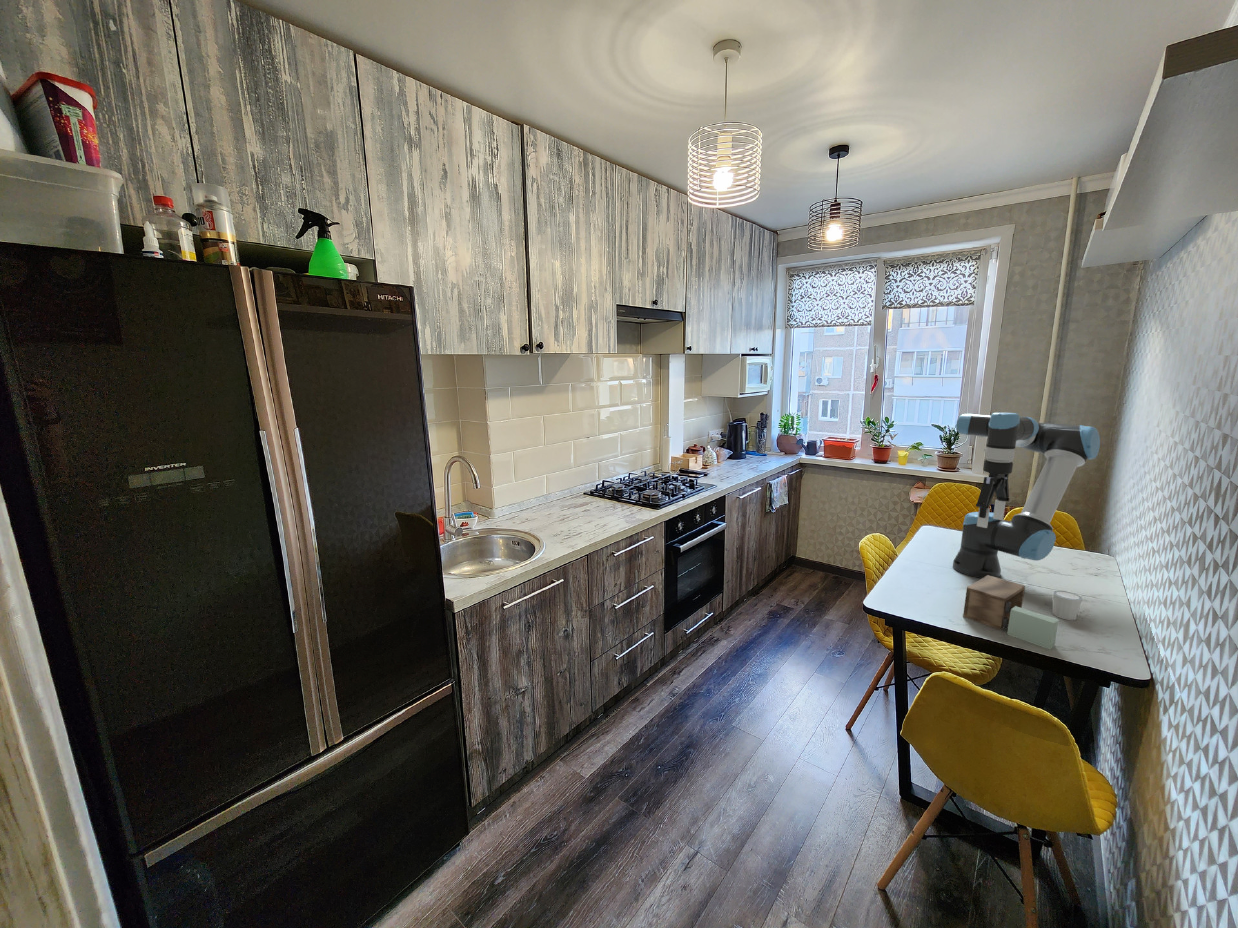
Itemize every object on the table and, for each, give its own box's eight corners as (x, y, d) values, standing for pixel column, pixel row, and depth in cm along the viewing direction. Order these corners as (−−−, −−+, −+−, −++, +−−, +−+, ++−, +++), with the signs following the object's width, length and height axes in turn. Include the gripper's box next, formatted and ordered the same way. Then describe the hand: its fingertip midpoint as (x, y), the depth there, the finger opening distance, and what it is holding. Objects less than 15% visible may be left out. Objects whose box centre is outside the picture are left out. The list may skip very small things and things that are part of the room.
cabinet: (962, 616, 157) (966, 587, 155) (983, 603, 166) (987, 575, 164) (1006, 631, 148) (1010, 600, 146) (1025, 616, 157) (1030, 587, 155)
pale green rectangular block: (1011, 630, 149) (1015, 605, 147) (1054, 645, 140) (1058, 619, 139) (1007, 634, 147) (1010, 609, 145) (1050, 649, 139) (1054, 623, 137)
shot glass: (1048, 615, 158) (1052, 594, 156) (1051, 608, 162) (1054, 588, 161) (1077, 623, 153) (1081, 602, 151) (1079, 615, 157) (1083, 595, 156)
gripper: (999, 454, 171) (991, 513, 175) (969, 463, 157) (961, 527, 161) (1026, 457, 165) (1017, 518, 169) (997, 466, 151) (988, 533, 155)
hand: (990, 523), depth 165 cm, fingers open, 13 cm apart
